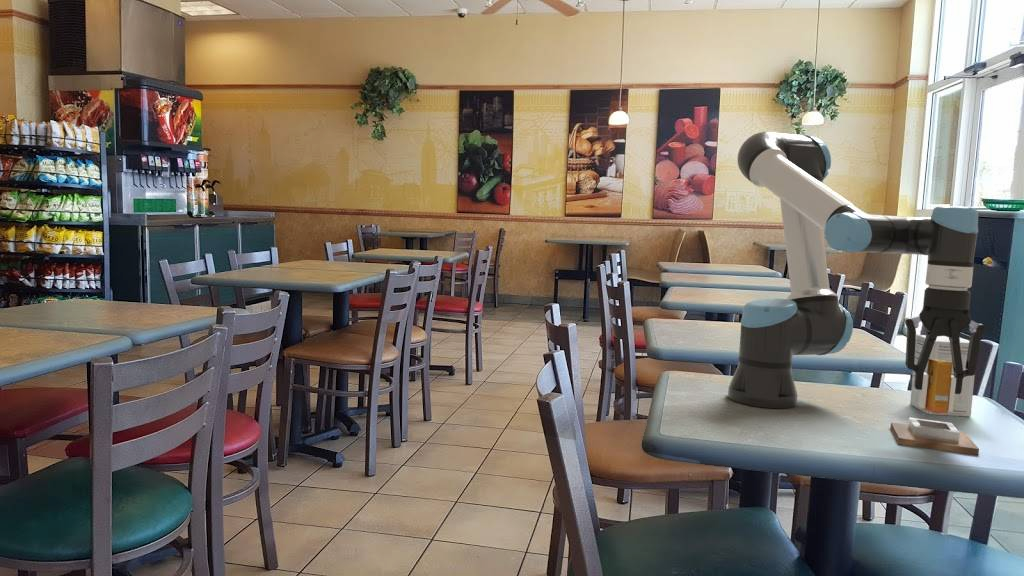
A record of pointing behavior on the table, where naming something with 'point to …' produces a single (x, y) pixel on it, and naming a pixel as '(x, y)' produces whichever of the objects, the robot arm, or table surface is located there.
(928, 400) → the supplement box
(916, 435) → the collar
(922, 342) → the supplement box
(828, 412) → the table surface
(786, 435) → the table surface
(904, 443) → the board
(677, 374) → the table surface
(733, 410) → the table surface
